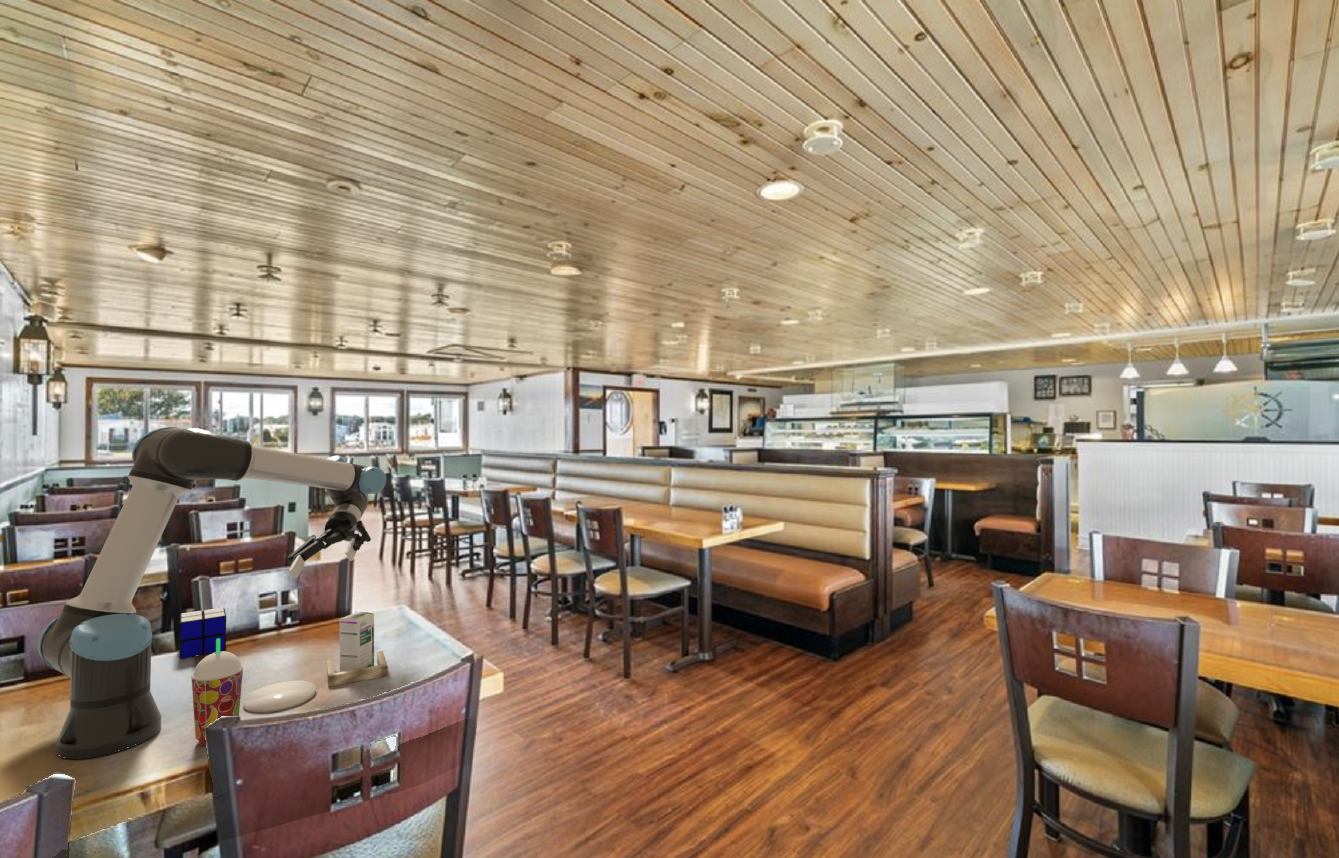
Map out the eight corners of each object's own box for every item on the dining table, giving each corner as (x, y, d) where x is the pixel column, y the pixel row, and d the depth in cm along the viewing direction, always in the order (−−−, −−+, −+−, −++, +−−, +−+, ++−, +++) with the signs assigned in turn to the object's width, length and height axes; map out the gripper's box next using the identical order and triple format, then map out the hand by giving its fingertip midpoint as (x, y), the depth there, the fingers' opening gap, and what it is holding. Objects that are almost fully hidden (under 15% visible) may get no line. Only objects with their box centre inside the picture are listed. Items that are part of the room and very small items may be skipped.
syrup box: (358, 677, 148) (359, 619, 148) (338, 675, 150) (339, 617, 150) (374, 668, 154) (375, 612, 154) (354, 666, 155) (355, 610, 155)
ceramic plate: (239, 718, 127) (239, 713, 127) (246, 692, 139) (246, 688, 139) (315, 703, 134) (315, 699, 134) (315, 680, 146) (315, 676, 146)
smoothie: (201, 731, 121) (202, 633, 121) (249, 725, 124) (250, 630, 124) (181, 753, 113) (183, 648, 113) (233, 746, 116) (234, 644, 116)
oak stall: (327, 686, 143) (328, 676, 143) (327, 669, 153) (327, 660, 153) (387, 675, 150) (387, 665, 150) (382, 660, 159) (383, 651, 159)
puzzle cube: (179, 660, 158) (179, 622, 158) (179, 649, 166) (179, 613, 166) (226, 651, 164) (226, 615, 164) (224, 641, 172) (224, 606, 172)
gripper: (393, 519, 170) (378, 561, 151) (303, 547, 167) (276, 593, 147) (382, 497, 167) (365, 537, 148) (291, 525, 163) (261, 569, 144)
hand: (320, 565), depth 147 cm, fingers open, 13 cm apart
